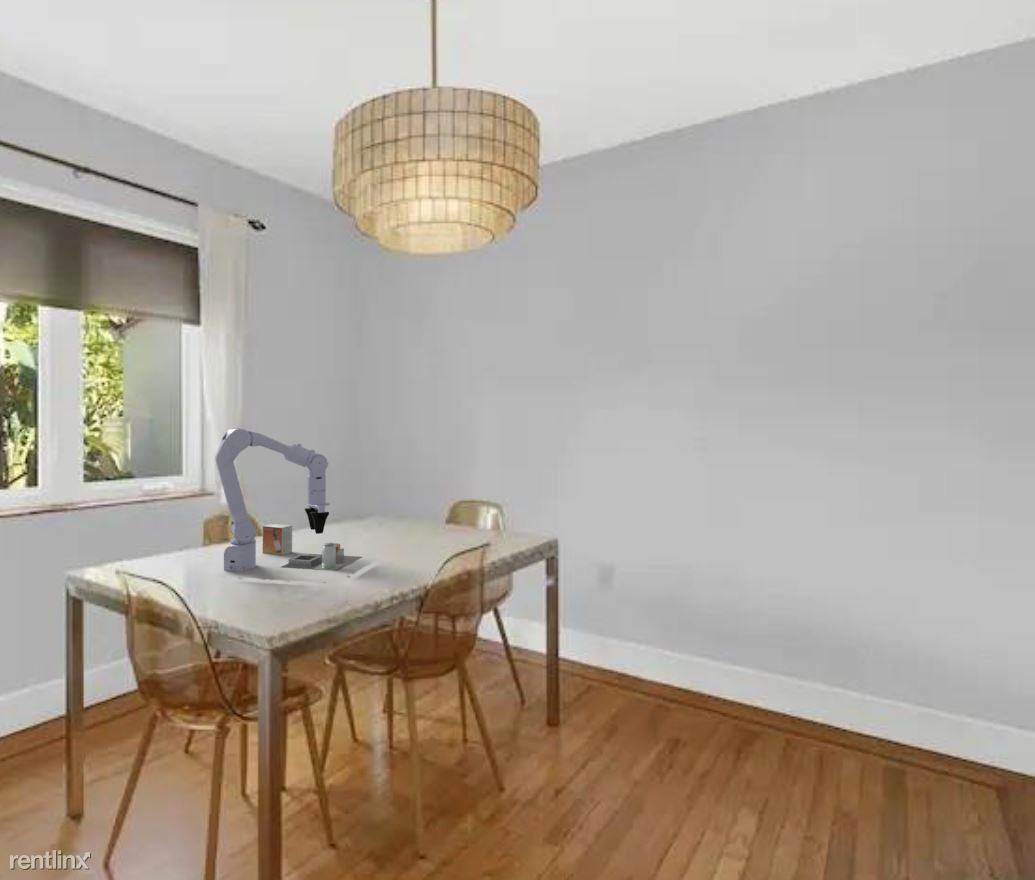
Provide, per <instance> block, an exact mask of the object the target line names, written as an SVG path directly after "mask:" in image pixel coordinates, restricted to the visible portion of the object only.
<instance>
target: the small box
mask: <svg viewBox="0 0 1035 880" xmlns="http://www.w3.org/2000/svg"><path fill="white" fill-rule="evenodd" d="M292 552H293V525H292V524H289V525H288V524H280V523H279V524H278V523H271V524H267V525H263V526H262V554H267V555H276V556H283V555H287V554H290V553H292Z"/></svg>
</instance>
